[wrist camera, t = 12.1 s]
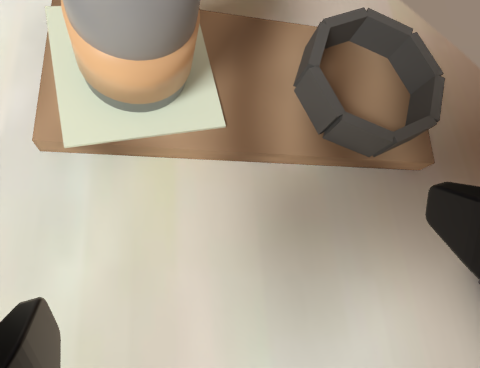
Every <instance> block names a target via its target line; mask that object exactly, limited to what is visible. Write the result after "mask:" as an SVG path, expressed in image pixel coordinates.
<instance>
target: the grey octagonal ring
mask: <svg viewBox="0 0 480 368" xmlns="http://www.w3.org/2000/svg"><path fill="white" fill-rule="evenodd" d="M412 31H413V28H410V27H408V26H406V25H404V24H402V23H400V22H398V21H395V20H393V19H391V18H389V17H387V16H385V15H383V14H380V13H378V12H376V11H374V10H372V9H370V8H368V9H367V11H366V10H365V8H360V9H357V10H353V11H350V12H346V13H343V14H339V15H336V16H332V17H329V18H325V19H323V21H322V22H320V24H319V25H318V27H317V29H316V30H315V32H314V33H313V35H312V37H311V38H310V40H309V42H308V43H307V45H306V46H305V49H304V52H303V55H302V59H301V62H300V65H299V68H298V72H297V75H296V78H295V81H294V85H293V86H295V87H296V88H295V89H294V92H295V94H296V95H297V97H298V99H299V101H300V102H301V104H302V106H303V108H304V110H305V111H306V113H307V115H308V117H309V119H310V120H311V122H312V124H313V126H314V127H315V129H316V131H317V133H318V135H319V134H321V133H324V134H323V139H326V140H328V141H331V142H333V143H335V144H338V145H340V146H343V147H345V148H348V149H350V150H352V151H355V152H357V153H360V154H362V155H365V156H367V157H371V156H372V155H373V157H376V156H378V155H380V154H382V153H384V152H386V151H389V150H391V149H393V148H395V147H397V146H399V145H401V144H403V143H406V142H408V141H410V140H412V139H413V138H415V137H417V136H418V135H420V134H421V133H423V132H425V131H426V130H428V129H430V128H431V127H433V126H435V125H436V124H437V123H436V122H438V121H439V120H440V112H441V105H442V97H443V89H444V81H445V78H444V77H441V75H442V74H444V73H443V72H442V70H441V69H440V67H439V66H438V64H437V63H436V61H435V59H434V58H433V56H432V55H431V53H430V52H429V50H428V49H427V47H426V46H425V44H424V42H423V41H422V39H421V38H420V36H419V35H418V33H417V32H415V33H412ZM347 41H350V42H352V43H355V44H357V45H359V46H361V47H364V48H366V49H368V50H370V51H372V52H375V53H377V54H379V55H381V56H383V57H386V58H388V60H389V61H390V63H391V65H392V66H393V68H394V69H395V71H396V73H397V74H398V76H399V77H400V79H401V81H402V82H403V84H404V85H405V87H406V89H407V90H408V92H409V93H410V100H409V106H408V112H407V118H406V124H405V127H402V128H400V129H398V130H396V131H390V130H388V129H386V128H383V127H381V126H379V125H376V124H374V123H371V122H369V121H367V120H364V119H362V118H360V117H357V116H355V115H353V114H350V113H348V112H346V111H345V110H344V108H343V106H342V105H341V103H340V101H339V100H338V98H337V96H336V94H335V93H334V91H333V89H332V88H331V86H330V84H329V82H328V81H327V79H326V77H325V76H324V74H323V72H322V70H321V69H320V67H319V66H320V62H321V59H322V55H323V52H324V49H325V48H329V47H332V46H335V45H338V44H341V43H344V42H347Z"/></svg>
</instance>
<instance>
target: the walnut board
mask: <svg viewBox="0 0 480 368" xmlns="http://www.w3.org/2000/svg"><path fill="white" fill-rule="evenodd" d="M51 6H61V0H52V4H51ZM200 27H201V30H202V34H203V38H204V42H205V46H206V50H207V54H208V58H209V62H210V66H211V70H212V74H213V78H214V82H215V85H216V89H217V93H218V97H219V101H220V105H221V109H222V113H223V117H224V121H225V125H226V127H225V128H217V129H209V130H201V131H194V132H186V133H178V134H171V135H163V136H155V137H147V138H140V139H132V140H124V141H117V142H109V143H101V144H93V145H86V146H78V147H70V148H64V144H63V137H62V129H61V122H60V115H59V107H58V100H57V93H56V85H55V78H54V71H53V64H52V56H51V49H50V42H49V34H48V33H47V40H46V47H45V54H44V61H43V68H42V75H41V82H40V89H39V96H38V103H37V110H36V117H35V124H34V131H33V138H32V141H33V142H34V144H35V145H36V146H37V148H38V149H39V150H40V151H49V152H69V153H89V154H109V155H128V156H148V157H168V158H188V159H207V160H227V161H247V162H267V163H286V164H306V165H326V166H346V167H365V168H385V169H405V170H421V169H423V168H425V167H428V166H430V165H432V164H434V163H435V162H434V157H433V152H432V147H431V142H430V137H429V132H428V130H426V131H425V132H423V133H421V134H420V135H418V136H417V137H415V138H413V139H412V140H410V141H408V142H406V143H403V144H401V145H399V146H397V147H395V148H393V149H391V150H389V151H386V152H384V153H382V154H380V155H378V156H376V157H373V155H372V156H371V157H367V156H365V155H362V154H360V153H357V152H355V151H352V150H350V149H348V148H345V147H343V146H340V145H338V144H335V143H333V142H331V141H328V140H326V139H323V134H324V133H321V134H319V135H318V133H317V131H316V129H315V127H314V126H313V124H312V122H311V120H310V119H309V117H308V115H307V113H306V111H305V110H304V108H303V106H302V104H301V102H300V101H299V99H298V97H297V95H296V94H295V92H294V89H295V88H296V87H295V86H293V85H294V81H295V78H296V75H297V72H298V68H299V65H300V62H301V59H302V55H303V52H304V49H305V46H306V45H307V43H308V42H309V40H310V38H311V37H312V35H313V33H314V32H315V30H316V29H317V27H315V26H308V25H301V24H294V23H287V22H280V21H273V20H266V19H259V18H252V17H245V16H238V15H231V14H225V13H218V12H211V11H204V10H200ZM319 67H320V69H321V70H322V72H323V74H324V76H325V77H326V79H327V81H328V82H329V84H330V86H331V88H332V89H333V91H334V93H335V94H336V96H337V98H338V100H339V101H340V103H341V105H342V106H343V108H344V110H345V111H346V112H348V113H350V114H353V115H355V116H357V117H360V118H362V119H364V120H367V121H369V122H371V123H374V124H376V125H379V126H381V127H383V128H386V129H388V130H390V131H396V130H398V129H400V128H402V127H405V124H406V118H407V112H408V106H409V100H410V93H409V92H408V90H407V89H406V87H405V85H404V84H403V82H402V81H401V79H400V77H399V76H398V74H397V73H396V71H395V69H394V68H393V66H392V65H391V63H390V61H389V60H388V58H386V57H383V56H381V55H379V54H377V53H375V52H372V51H370V50H368V49H366V48H364V47H361V46H359V45H357V44H355V43H352V42H350V41H347V42H344V43H341V44H338V45H335V46H332V47H329V48H325V49H324V52H323V55H322V59H321V62H320V66H319Z"/></svg>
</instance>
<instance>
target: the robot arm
mask: <svg viewBox="0 0 480 368" xmlns="http://www.w3.org/2000/svg"><path fill="white" fill-rule="evenodd" d="M426 219H427V222H428V223H429V225H430V226H431V227H432V228H433V229H434V230H435V232H436V233H437V234H438V235H439V236H440V237H441V238H442V240H443V241H444V242H445V243H446V244H447V245H448V246H449V247H450V249H451V250H452V251H453V252H454V253H455V254H456V255H457V257H458V258H459V259H460V260H461V261H462V262H463V263H464V264H465V265H466V267H467V268H468V269H469V270H470V271H471V272H472V273H473V274H474V275H475V276H476V277H477V278H478V279H479V280H480V187H478V186H472V185H465V184H459V183H452V182H444V183H440V184H437V185H433V186H432V187H431V188H430V190H429V192H428V199H427V207H426ZM60 342H61V339H60V331H59V327H58V325H57V323H56V321H55V318H54V316H53V314H52V312H51V310H50V308H49V306H48V304H47V302H46V301H45V299H44V298H41V297H38V298H35V299H31V300H27V301H24V302H21V303H19V304H18V305H17V306H16V307H15V308H14V309H13V310H12V311H11V312H10V313H9V314H8V315H7V316H6V317H5V318H4V319H3V320H2V321H1V322H0V368H60Z"/></svg>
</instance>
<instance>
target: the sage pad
mask: <svg viewBox="0 0 480 368" xmlns="http://www.w3.org/2000/svg"><path fill="white" fill-rule="evenodd" d="M45 13H46V20H47V27H48V34H49V42H50V49H51V56H52V64H53V71H54V78H55V85H56V93H57V100H58V107H59V115H60V122H61V129H62V137H63V144H64V148H70V147H78V146H86V145H93V144H101V143H109V142H117V141H124V140H132V139H140V138H147V137H155V136H163V135H171V134H178V133H186V132H194V131H201V130H209V129H217V128H225V127H226V125H225V121H224V117H223V113H222V109H221V105H220V101H219V97H218V93H217V89H216V85H215V82H214V78H213V74H212V70H211V66H210V62H209V58H208V54H207V50H206V46H205V42H204V38H203V34H202V30H201V27H200V23H199V29H198V34H197V40H196V45H195V50H194V56H193V61H192V67H191V71H190V74H189V76H188V78H187V80H186V83H185V86H184V88H183V90H182V92H181V93H180V94H179V96H178V97H177V98H176V99H175V100H174V101H172V102H171V103H170V104H168V105H166V106H165V107H162V108H160V109H157V110H154V111H149V112H129V111H123V110H120V109H117V108H114V107H112V106H110V105H108V104H106V103H105V102H103V101H102V100H101V99H99V98H98V97H97V96H96V95H95V94H94V93H93V92H92V91H91V89H90V88H89V86H88V85H87V83H86V81H85V78H84V77H83V75H82V73H81V72H80V70H79V67H78V65H77V61H76V58H75V54H74V51H73V48H72V44H71V41H70V37H69V34H68V30H67V27H66V23H65V20H64V17H63V13H62V8H61V6H45Z"/></svg>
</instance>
